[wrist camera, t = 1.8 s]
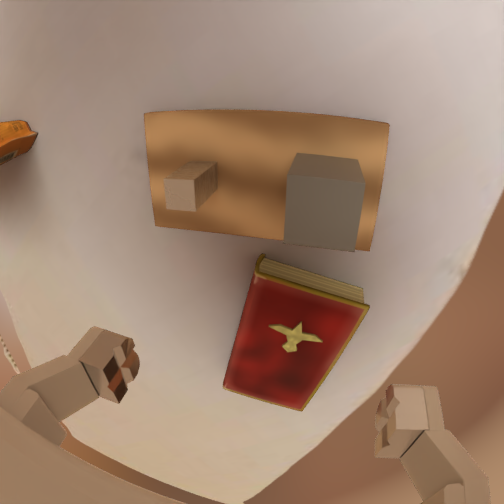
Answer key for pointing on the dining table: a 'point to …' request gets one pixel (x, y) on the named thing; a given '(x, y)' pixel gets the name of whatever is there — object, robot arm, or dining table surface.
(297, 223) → the gray rectangular block
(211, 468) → the dining table surface
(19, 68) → the dining table surface
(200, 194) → the post
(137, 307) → the dining table surface
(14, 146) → the pancake mix bag
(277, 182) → the board
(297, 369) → the hardcover book
